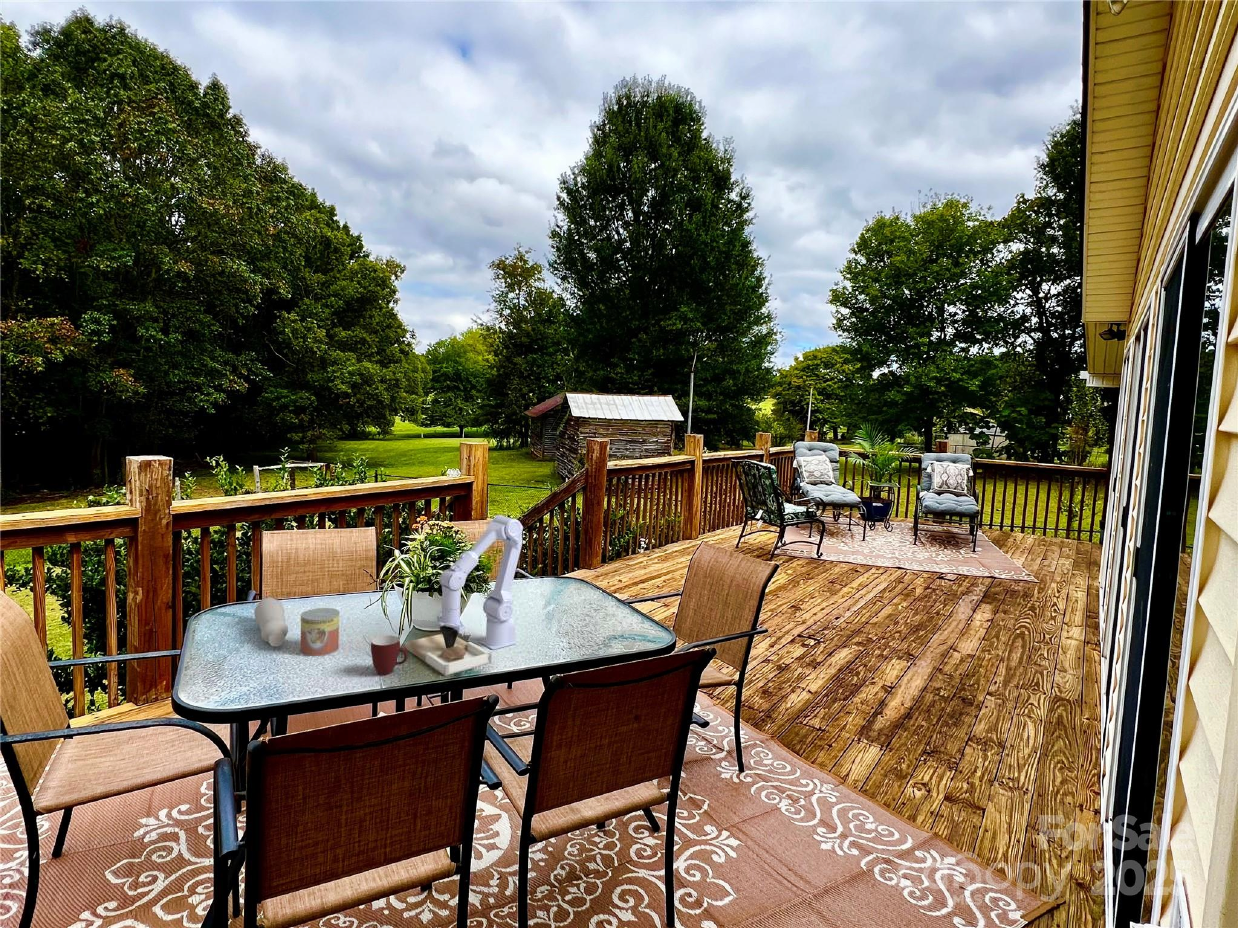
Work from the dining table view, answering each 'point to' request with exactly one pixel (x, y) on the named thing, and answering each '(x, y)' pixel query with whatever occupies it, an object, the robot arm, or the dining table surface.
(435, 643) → the board
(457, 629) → the robot arm
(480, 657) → the tray
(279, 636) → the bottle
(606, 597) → the dining table surface
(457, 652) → the tile
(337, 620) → the canned food
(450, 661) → the tile
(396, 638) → the mug
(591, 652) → the dining table surface
